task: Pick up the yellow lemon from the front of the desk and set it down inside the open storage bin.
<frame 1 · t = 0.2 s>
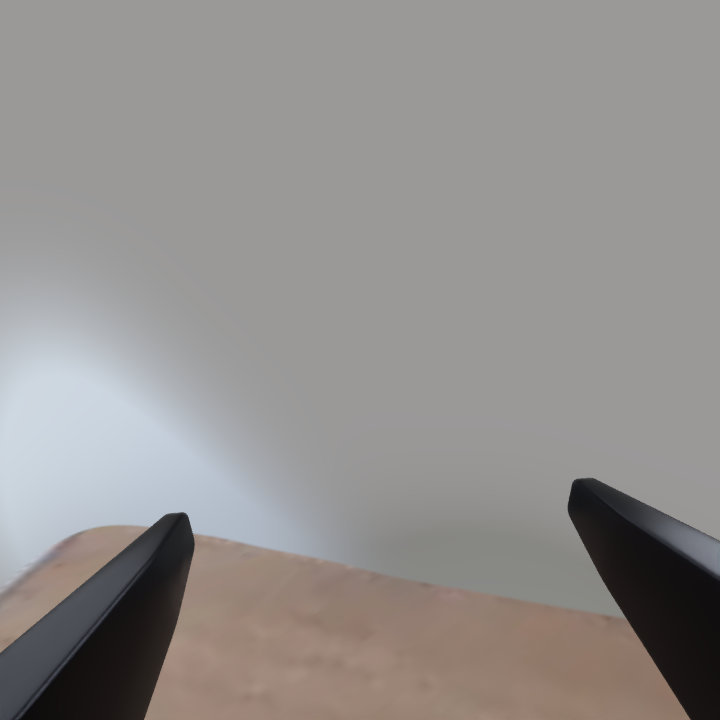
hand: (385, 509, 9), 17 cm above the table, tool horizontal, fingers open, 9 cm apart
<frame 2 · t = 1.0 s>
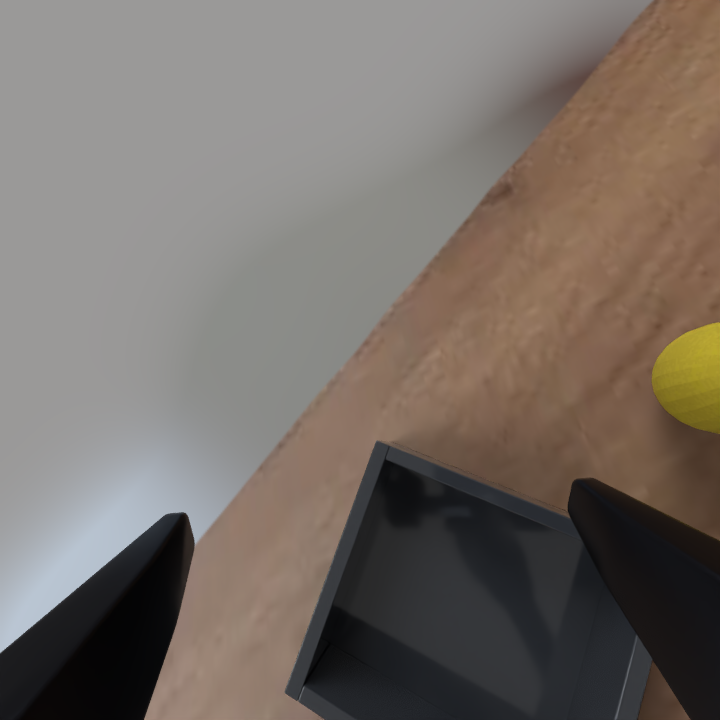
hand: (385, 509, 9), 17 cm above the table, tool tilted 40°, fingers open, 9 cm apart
lemon: (678, 390, 23), on the table
open storage bin: (464, 591, 23), on the table
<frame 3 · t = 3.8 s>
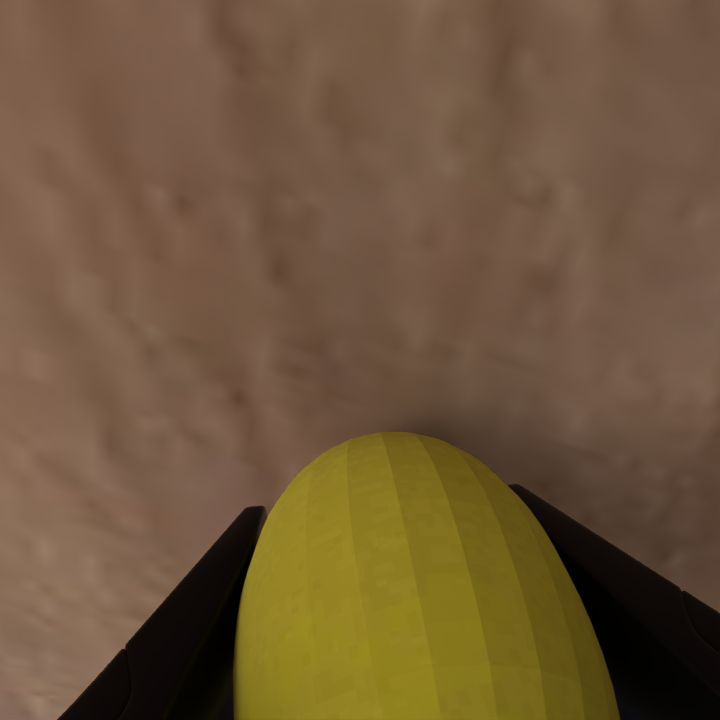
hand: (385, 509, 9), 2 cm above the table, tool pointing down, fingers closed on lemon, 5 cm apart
lemon: (376, 460, 10), on the table, touching gripper
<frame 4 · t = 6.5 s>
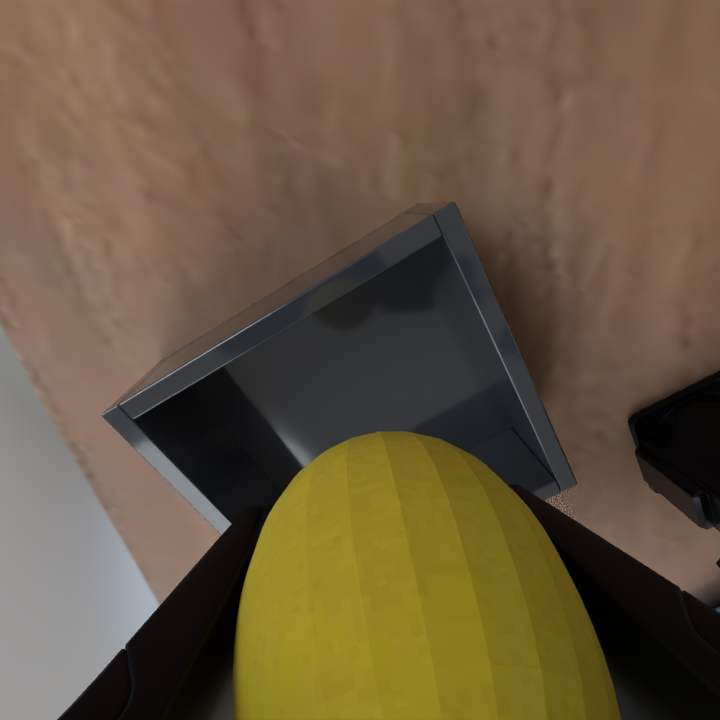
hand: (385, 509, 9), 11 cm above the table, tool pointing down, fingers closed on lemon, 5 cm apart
lemon: (375, 460, 10), point 10 cm above the table, touching gripper
open storage bin: (354, 394, 20), on the table
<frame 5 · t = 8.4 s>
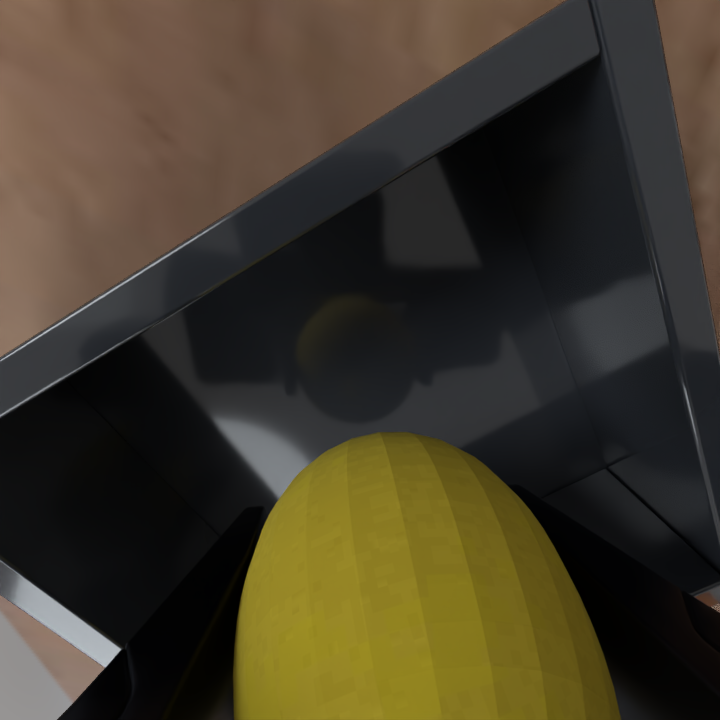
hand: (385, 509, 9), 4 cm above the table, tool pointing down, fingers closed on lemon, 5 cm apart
lemon: (375, 461, 10), point 3 cm above the table, touching gripper
open storage bin: (363, 414, 13), on the table
when the fingers open (2 cm above the table, at t = 9.5 s): lemon stays where it is, resting on open storage bin.
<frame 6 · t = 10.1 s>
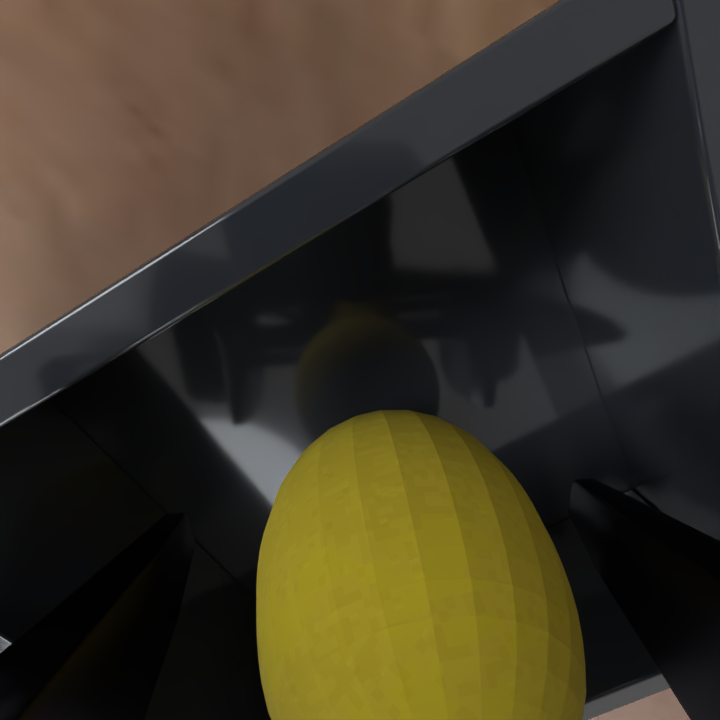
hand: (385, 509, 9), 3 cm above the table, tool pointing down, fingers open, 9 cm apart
lemon: (377, 441, 11), point 1 cm above the table, touching open storage bin
open storage bin: (371, 431, 12), on the table
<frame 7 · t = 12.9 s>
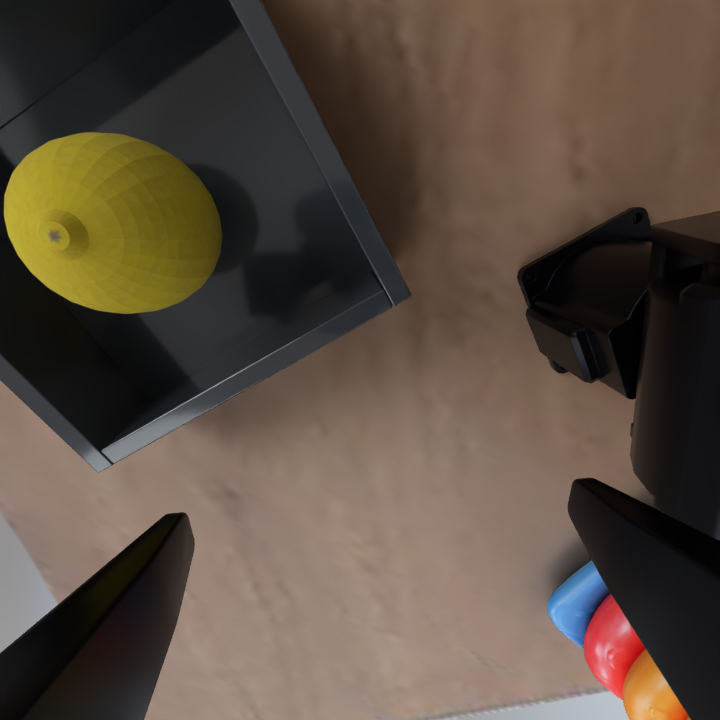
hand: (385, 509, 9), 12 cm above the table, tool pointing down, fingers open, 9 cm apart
lemon: (178, 224, 17), point 1 cm above the table, touching open storage bin
stacking toy: (634, 575, 29), on the table
open storage bin: (181, 223, 17), on the table
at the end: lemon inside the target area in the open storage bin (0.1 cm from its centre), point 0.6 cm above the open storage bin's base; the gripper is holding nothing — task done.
